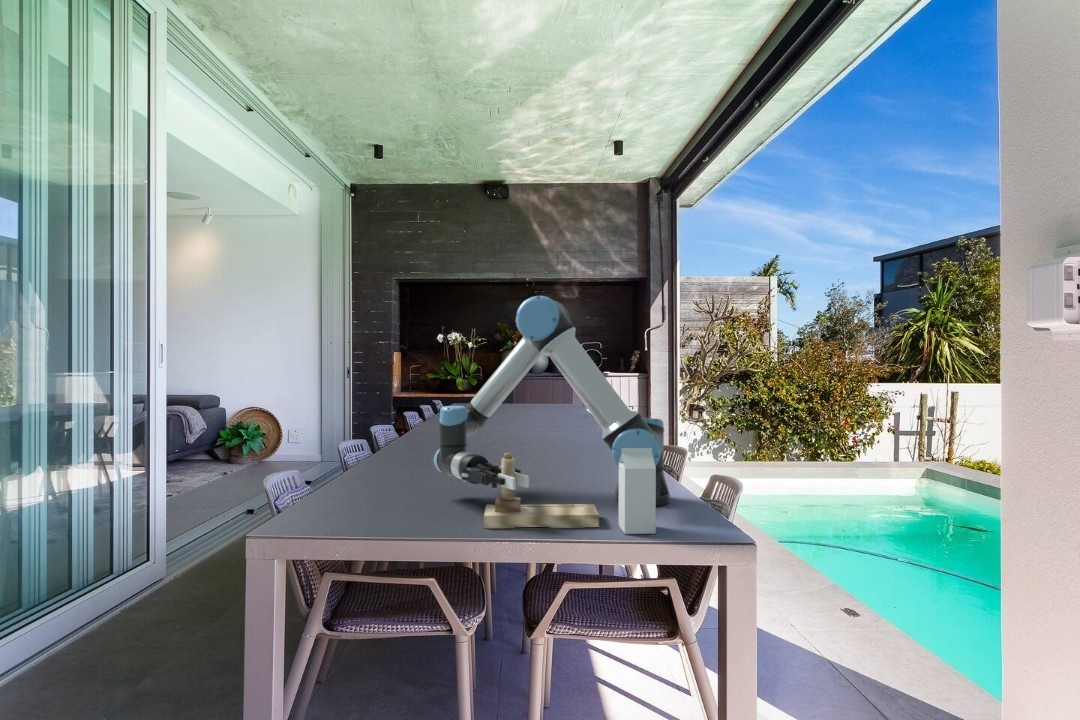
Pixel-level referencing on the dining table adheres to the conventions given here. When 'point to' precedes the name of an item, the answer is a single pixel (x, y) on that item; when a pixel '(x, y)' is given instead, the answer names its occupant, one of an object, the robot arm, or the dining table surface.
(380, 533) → the dining table surface
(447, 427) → the robot arm
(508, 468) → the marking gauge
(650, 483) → the milk carton
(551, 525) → the oak plank
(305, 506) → the dining table surface
